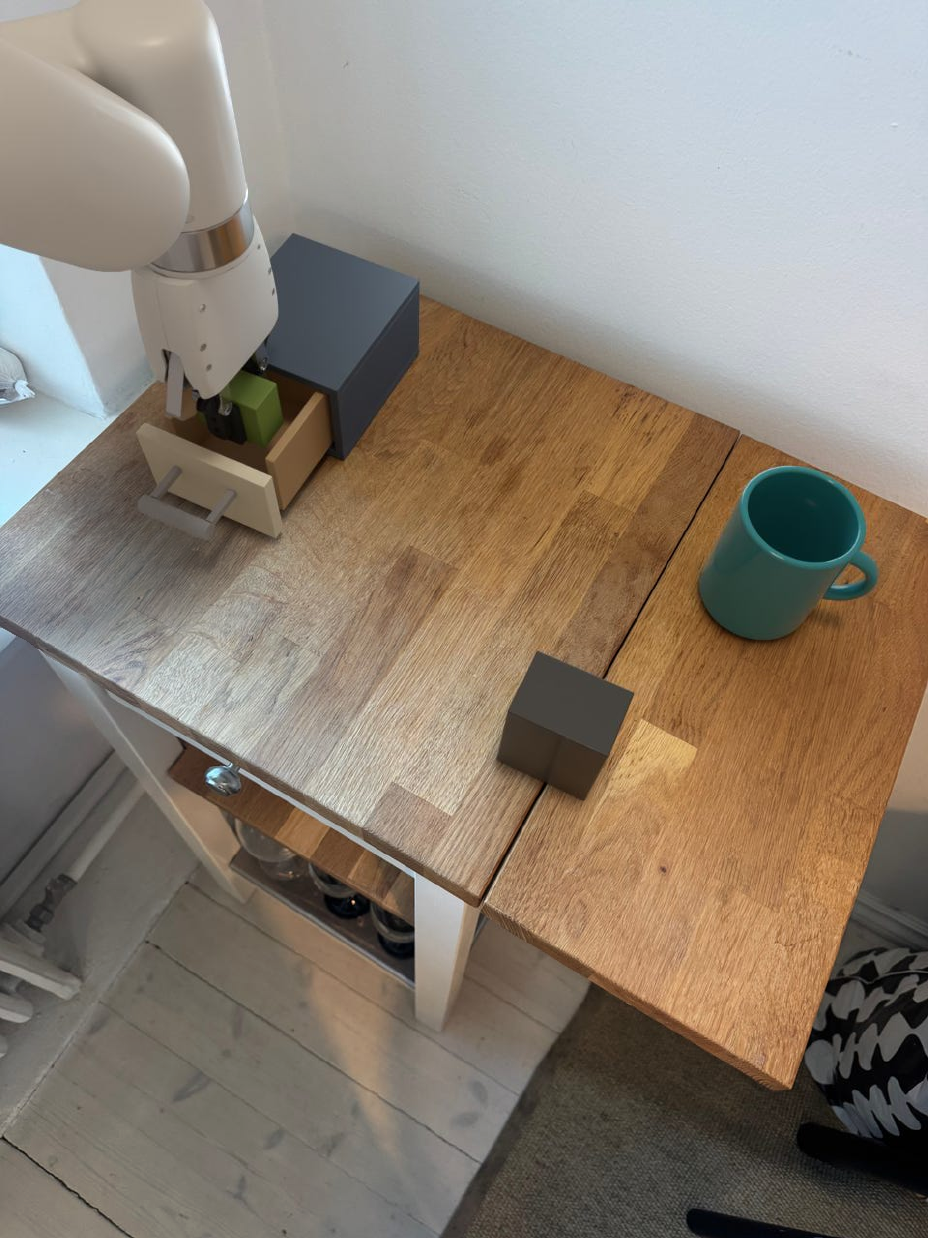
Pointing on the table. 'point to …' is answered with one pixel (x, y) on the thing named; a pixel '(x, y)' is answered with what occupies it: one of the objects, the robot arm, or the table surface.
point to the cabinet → (342, 331)
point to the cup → (785, 553)
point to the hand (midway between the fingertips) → (240, 419)
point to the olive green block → (255, 407)
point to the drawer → (237, 464)
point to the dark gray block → (562, 724)
